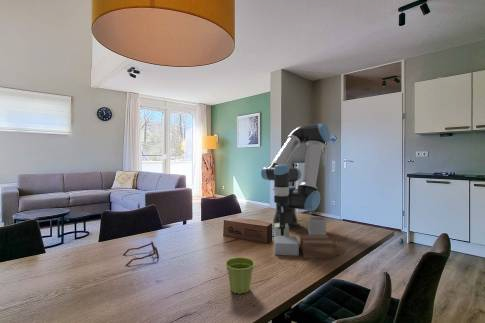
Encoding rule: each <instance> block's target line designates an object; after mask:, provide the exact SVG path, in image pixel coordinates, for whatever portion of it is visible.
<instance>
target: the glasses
mask: <svg viewBox="0 0 485 323" xmlns="http://www.w3.org/2000/svg"><path fill="white" fill-rule="evenodd" d="M149 246H151V247H152V250H153V252H151V253H150V254H147V255H145V256H144V255H143V256H142V257H135V258H132V259H131V260H129V261H128V262H127V263H126V264H124V267H128V266H129V265H130V264H131V263H132V262H134V261H136V260H144V259H146V258H148V257H152V256H154V255H156V257H157V259H160V254H159V251H158V248H157V247H156V245H155V244H154V241H153V240H152V241H151V242H150V243H148V244H144V245H142V246H139V247H134V248H133V247H132V248H128V249H126V251H125V252H124V253H123V254H122V256H125V255H126V254H127V253H128V252H129V251H131V250H132V251H133V250H141V249H143V248H145V247H149ZM127 265H128V266H127Z"/></svg>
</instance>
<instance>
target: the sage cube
mask: <svg viewBox="0 0 485 323" xmlns="http://www.w3.org/2000/svg"><path fill="white" fill-rule="evenodd" d="M273 225H274V229H273V230H274V236H279V229H278V227H280V223H274V224H273ZM285 236H290V227H289V226H288V224H285Z"/></svg>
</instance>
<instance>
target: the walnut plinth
mask: <svg viewBox="0 0 485 323" xmlns="http://www.w3.org/2000/svg"><path fill="white" fill-rule="evenodd" d="M299 235H300V237H299V240H300V241H299V246H300V250H301V254H302V256H303V258H305V259H306V258H308V259H309V258H310V259H334V242H333V241H332V240H331V239H330V237H329V236H328V235H327V234H326V235H309V234H299Z"/></svg>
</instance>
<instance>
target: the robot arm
mask: <svg viewBox="0 0 485 323" xmlns="http://www.w3.org/2000/svg"><path fill="white" fill-rule="evenodd" d="M330 136H331V133H330V128H329V127H328V125H327V124H326V123H315V124H302V125H300V126H299V125H298V126H297V127H296V128H295V129H293V130H292V131H291V132H290V133H288V136H287V137H286V139H285V140H286V141H285V142H284V144H283V145H282V147H281V148H280V150H279V151H278V153H277V154H276V156H275V157H274V158H273V160H272V161H271V163H270V165H269V166H263V168H262V169H261V171H260V175H261V178H262V179H263V180H265V181H273V184H274V186H273V188H272V190H273V193H274V196H273V202H274V203H275V214H274V216H273V220H272V222H273V223H272V224H273V225H274V223H280V227H278V229H279V236H285V224H288V226H289V228H290V227H297V226H298V224H299V220H298V217H297V214H296V210H297V209H298V210H303V211H311V212H314V211H315V210H316V209H317V208H319V205H320V202H321V199H322V198H321V193H320V191H319V189H318V187H317V180H318V175H319V168H320V161H321V156H322V149H324V148H325V147H326V143H329V142H330V138H331V137H330ZM302 144H305V145H306V147H307V148H306V154H305V160H304V165H303V170H302V171H301V170H300V169H299V168H298V167H290V166H289V165H288V164H287V163H288V161H289V159H290V158H291V157H292V155H293V153H294V152H295V151H296V149H297V148H298V147H300V146H301V145H302ZM299 180H301V183H300V184H297V185H298V186H297V189H296V186H294V185H293V186H292V185H290V183H293V182H294V183H295V182H298V181H299Z"/></svg>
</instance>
